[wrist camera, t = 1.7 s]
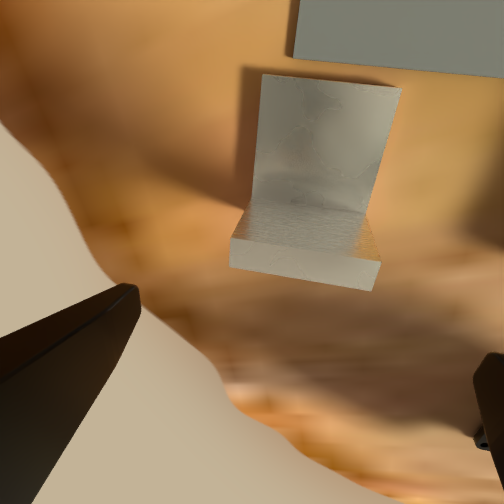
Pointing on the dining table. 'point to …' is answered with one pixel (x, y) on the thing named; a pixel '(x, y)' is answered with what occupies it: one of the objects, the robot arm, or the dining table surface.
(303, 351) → the dining table surface
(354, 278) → the bracket
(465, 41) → the pad
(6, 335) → the robot arm
